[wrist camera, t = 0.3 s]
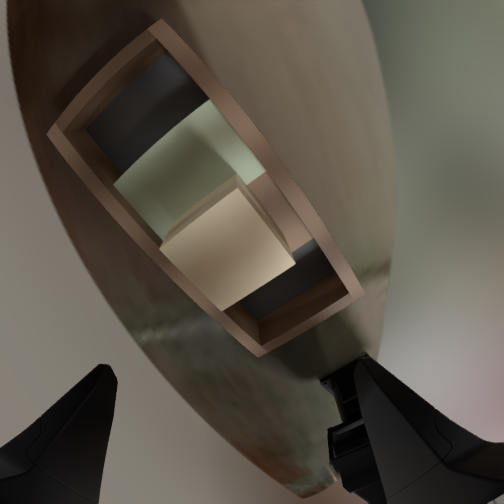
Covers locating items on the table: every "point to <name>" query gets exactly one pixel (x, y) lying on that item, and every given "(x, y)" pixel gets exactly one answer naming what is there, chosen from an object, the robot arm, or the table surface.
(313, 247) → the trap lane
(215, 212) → the block
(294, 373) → the table surface
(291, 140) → the table surface
